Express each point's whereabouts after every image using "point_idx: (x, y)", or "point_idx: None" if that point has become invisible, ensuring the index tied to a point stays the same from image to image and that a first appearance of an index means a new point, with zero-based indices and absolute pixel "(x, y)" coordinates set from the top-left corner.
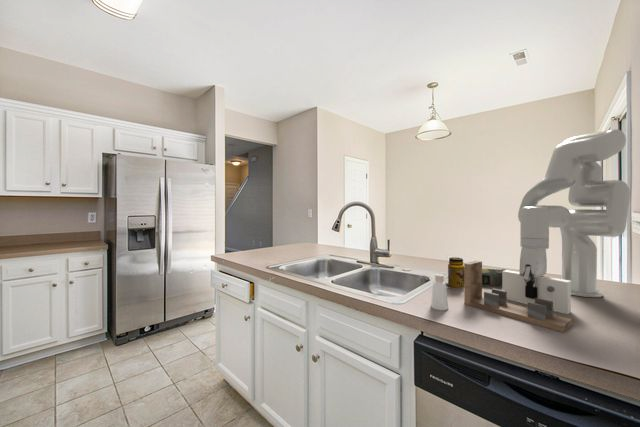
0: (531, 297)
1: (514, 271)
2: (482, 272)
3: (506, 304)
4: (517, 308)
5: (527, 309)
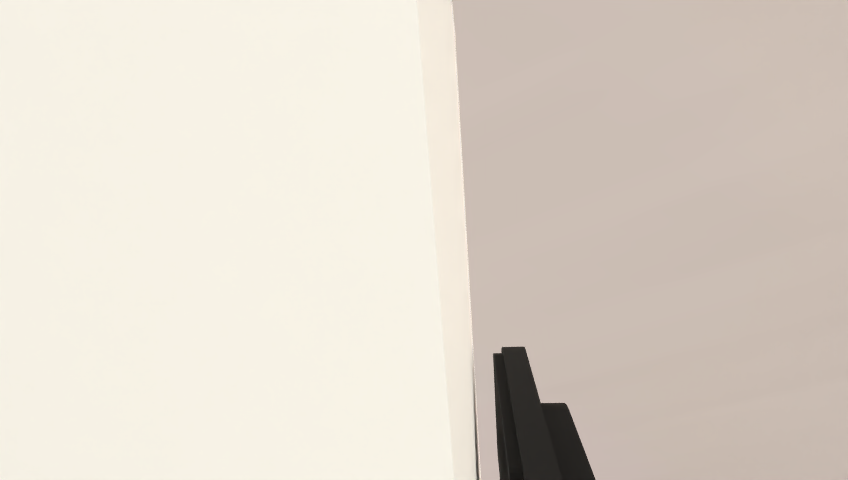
0: None
1: (364, 165)
2: None
3: None
4: None
5: None
